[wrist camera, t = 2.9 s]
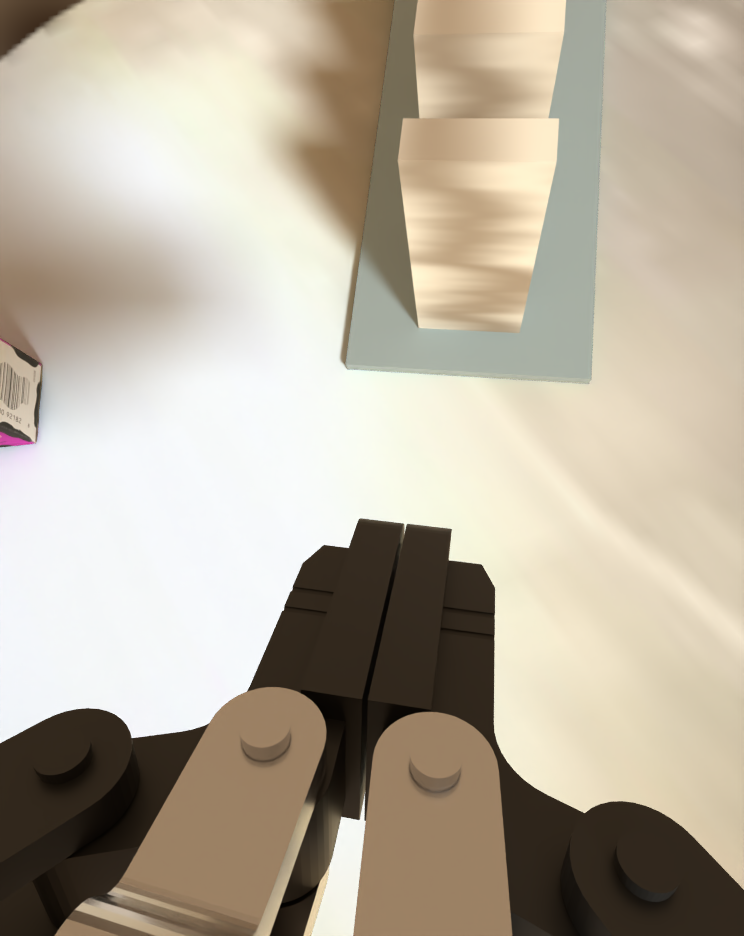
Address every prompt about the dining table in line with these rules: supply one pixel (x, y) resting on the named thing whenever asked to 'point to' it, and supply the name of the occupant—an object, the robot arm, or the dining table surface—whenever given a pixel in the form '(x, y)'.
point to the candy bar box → (18, 396)
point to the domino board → (559, 251)
